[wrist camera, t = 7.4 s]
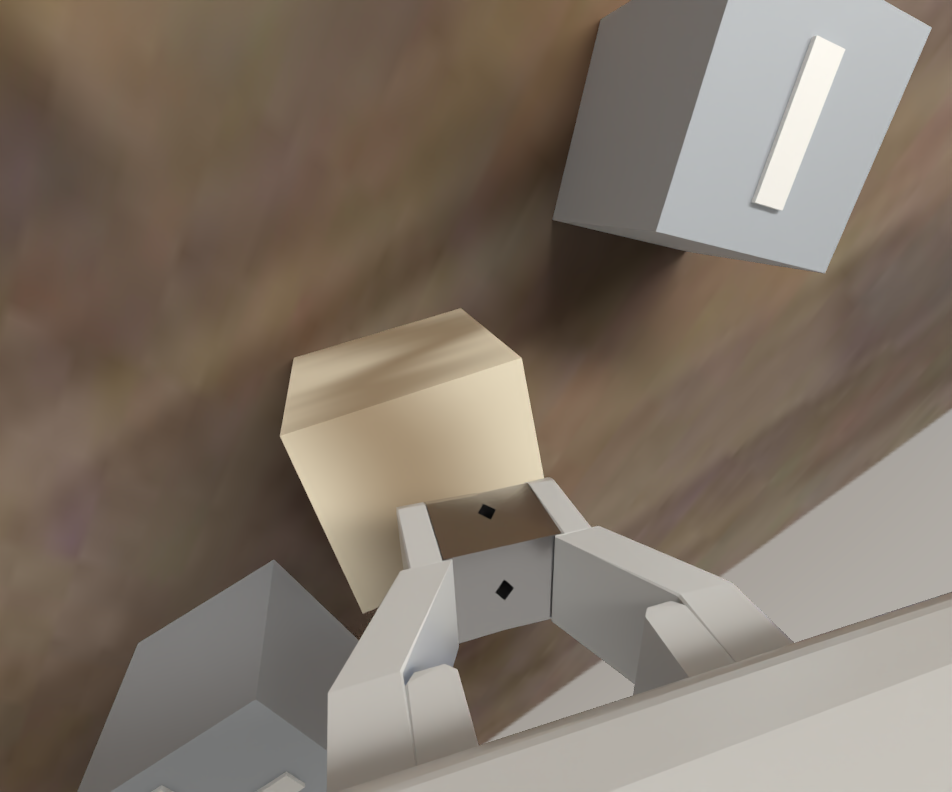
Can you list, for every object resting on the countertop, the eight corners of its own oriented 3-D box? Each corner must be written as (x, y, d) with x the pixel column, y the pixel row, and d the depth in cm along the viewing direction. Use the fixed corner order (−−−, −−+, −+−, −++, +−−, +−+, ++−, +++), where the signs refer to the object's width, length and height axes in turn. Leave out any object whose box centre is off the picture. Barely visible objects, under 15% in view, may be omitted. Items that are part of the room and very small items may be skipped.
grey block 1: (274, 557, 16) (255, 703, 11) (358, 638, 18) (370, 785, 14) (138, 641, 15) (63, 824, 11) (242, 712, 18) (215, 887, 13)
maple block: (460, 307, 14) (521, 358, 10) (492, 445, 17) (554, 537, 12) (293, 357, 13) (280, 435, 9) (351, 495, 16) (362, 613, 11)
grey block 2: (742, 79, 14) (936, 25, 10) (684, 251, 16) (828, 273, 11) (599, 20, 12) (756, -78, 8) (551, 219, 14) (659, 231, 10)
